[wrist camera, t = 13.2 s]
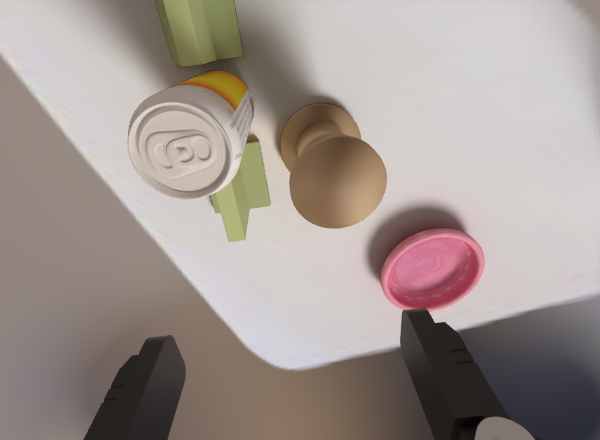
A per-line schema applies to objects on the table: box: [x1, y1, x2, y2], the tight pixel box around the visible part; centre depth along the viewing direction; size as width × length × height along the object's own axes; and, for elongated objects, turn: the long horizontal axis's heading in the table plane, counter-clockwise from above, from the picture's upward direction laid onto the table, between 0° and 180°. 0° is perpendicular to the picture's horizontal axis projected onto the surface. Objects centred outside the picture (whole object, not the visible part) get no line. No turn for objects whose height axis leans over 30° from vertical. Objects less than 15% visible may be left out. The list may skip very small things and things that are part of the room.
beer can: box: [128, 70, 254, 199], centre depth 23 cm, size 6×6×15 cm
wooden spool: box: [280, 103, 387, 228], centre depth 28 cm, size 8×8×11 cm
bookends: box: [155, 0, 270, 242], centre depth 27 cm, size 6×22×7 cm, turn 7°
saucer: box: [380, 228, 484, 312], centre depth 39 cm, size 12×12×3 cm
